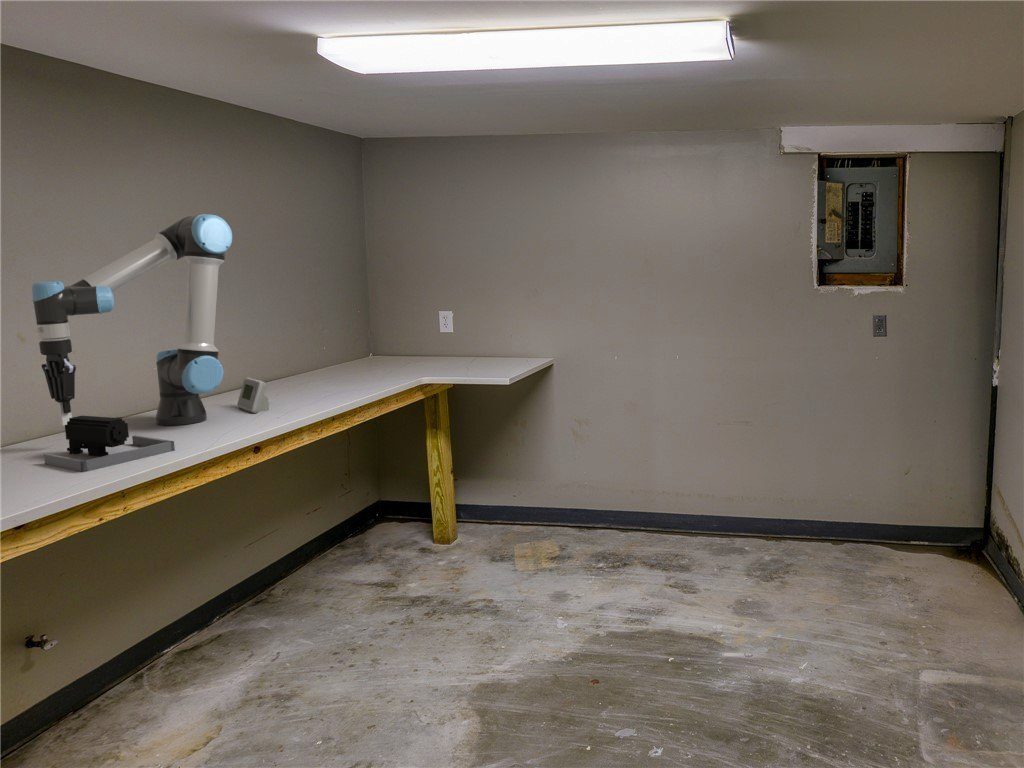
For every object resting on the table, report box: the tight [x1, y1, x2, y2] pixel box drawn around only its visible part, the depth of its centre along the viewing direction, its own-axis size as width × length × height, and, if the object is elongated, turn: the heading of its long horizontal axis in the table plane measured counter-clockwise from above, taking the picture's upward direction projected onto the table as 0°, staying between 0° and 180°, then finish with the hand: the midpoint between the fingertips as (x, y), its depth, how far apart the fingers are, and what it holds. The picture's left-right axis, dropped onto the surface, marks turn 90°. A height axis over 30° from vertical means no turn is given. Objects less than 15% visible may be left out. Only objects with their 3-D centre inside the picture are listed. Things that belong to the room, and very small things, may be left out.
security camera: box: [64, 415, 130, 458], centre depth 213 cm, size 7×18×10 cm, turn 68°
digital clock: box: [236, 377, 270, 414], centre depth 274 cm, size 16×9×11 cm, turn 26°
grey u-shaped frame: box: [43, 434, 176, 473], centre depth 211 cm, size 25×17×2 cm
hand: (66, 424), depth 221 cm, fingers closed
